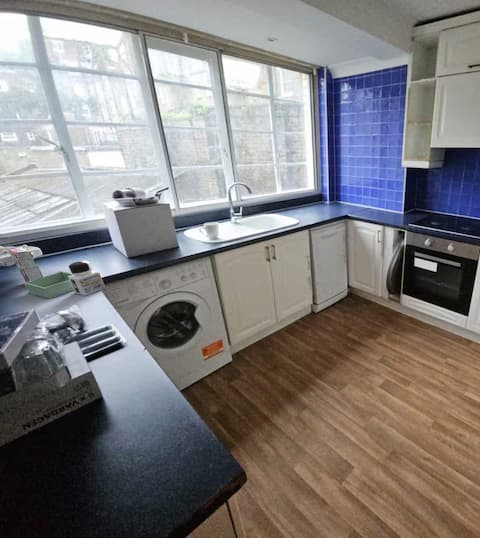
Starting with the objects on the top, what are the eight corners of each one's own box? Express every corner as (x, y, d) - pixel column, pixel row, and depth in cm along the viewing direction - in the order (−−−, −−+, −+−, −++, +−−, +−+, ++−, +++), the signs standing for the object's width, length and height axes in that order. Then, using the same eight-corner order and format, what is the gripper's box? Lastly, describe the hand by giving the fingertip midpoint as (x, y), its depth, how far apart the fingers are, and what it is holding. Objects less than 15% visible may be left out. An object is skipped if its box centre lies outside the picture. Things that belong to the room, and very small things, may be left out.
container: (85, 295, 122) (72, 267, 117) (74, 293, 125) (61, 264, 120) (106, 287, 129) (94, 260, 124) (95, 285, 131) (83, 258, 126)
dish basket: (49, 298, 121) (44, 288, 119) (28, 292, 126) (23, 282, 124) (86, 285, 132) (82, 275, 130) (66, 280, 138) (61, 271, 136)
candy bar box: (25, 283, 136) (7, 249, 130) (39, 278, 140) (23, 246, 134) (32, 288, 131) (13, 253, 124) (47, 283, 135) (30, 250, 128)
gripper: (-33, 258, 128) (-18, 261, 123) (29, 243, 145) (44, 246, 141) (-25, 271, 131) (-10, 275, 126) (35, 255, 148) (50, 258, 143)
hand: (19, 260), depth 133 cm, fingers open, 8 cm apart
